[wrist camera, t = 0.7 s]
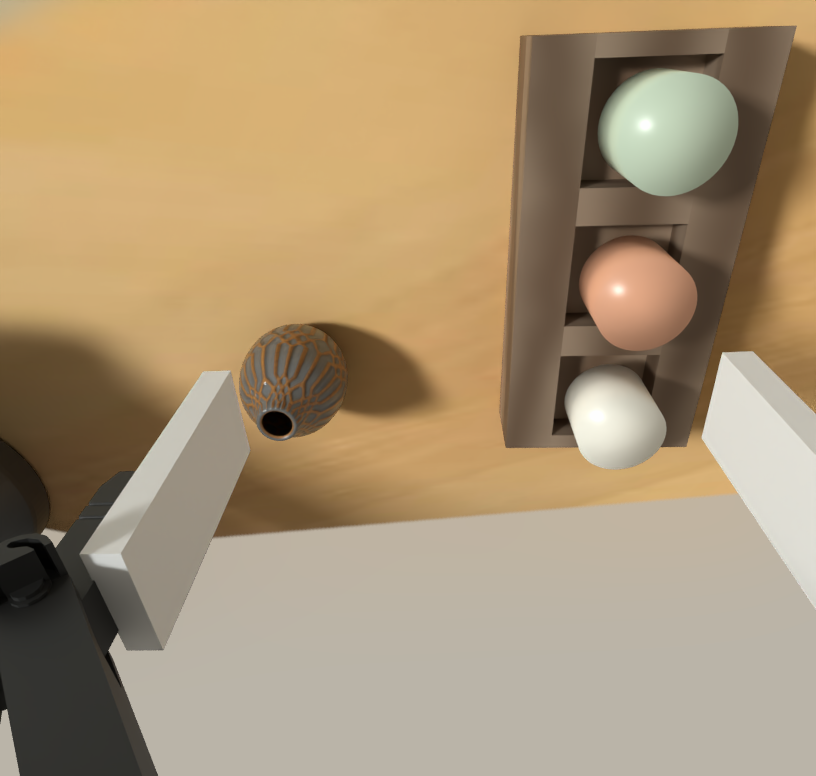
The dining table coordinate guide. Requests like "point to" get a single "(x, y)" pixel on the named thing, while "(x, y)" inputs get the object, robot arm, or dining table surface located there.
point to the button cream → (614, 417)
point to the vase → (293, 381)
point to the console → (619, 216)
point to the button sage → (668, 130)
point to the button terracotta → (637, 293)
